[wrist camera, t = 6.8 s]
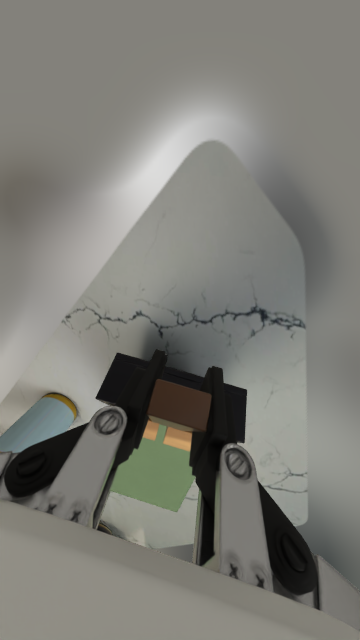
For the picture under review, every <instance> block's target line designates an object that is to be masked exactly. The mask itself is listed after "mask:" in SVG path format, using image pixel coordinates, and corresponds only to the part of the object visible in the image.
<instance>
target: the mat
mask: <svg viewBox="0 0 360 640" xmlns="http://www.w3.org/2000/svg"><path fill="white" fill-rule="evenodd" d="M166 428H167V426H164V425H161V424H159V428H158V432H157V435H156V439H155V441H153V440H150V439H147V438H144V437H142V440H141V443H140V445H139V448H138V449H135V448H134V450H133V453H132V455H130V456H129V459H128V460H127V461H125V462H124V463H122V464H120V466H119V468H118V471H117V474H116V477H115V480H114V482H113V485H112V488H111V491H113V492H116V493H119V494H122V495H125V496H128V497H131V498H134V499H137V500H140V501H143V502H146V503H150V504H153V505H156V506H159V507H162V508H165V509H168V510H171V511H174V512H177V511H178V509H179V507H180V505H181V504H182V502H183V500H184V498H185V496H186V494H187V492H188V490H189V488H190V486H191V484H192V483H193V481H194V479H195V477H196V476H193V475H192V467H190V466H189V458H190V451H186V450H183V449H179V448H176V447H173V446H170V445H166V444H163V441H164V436H165V432H166Z"/></svg>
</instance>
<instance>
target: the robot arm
mask: <svg viewBox="0 0 360 640" xmlns="http://www.w3.org/2000/svg"><path fill="white" fill-rule="evenodd" d="M167 356H168V355H166V354H165V352H164V351H161V350H158V349H156V351H155V353H154V355H153V357H152V359H151V361H150V363H149V365H148V367H147V369H143V368H139V367H136V369H135V370H134V372H133V374H132V375H131V377H130V379H129V380H128V382H127V384H126V386H125V387H124V389H123V391H122V392H121V394H120V396H119V397H118V399H117V401H116V403H115V404H114V406H106V407H104V408H101V409H100V410H98V411H97V412H96V413H95V414H94V416H93V417H92V418H91V420H90V422H89V423H86V424H84V425H81V426H79V427H76V428H74V429H71V430H69V431H66V432H64V433H61V434H59V435H56V436H54V437H51V438H49V439H46V440H44V441H41V442H39V443H36V444H34V445H32V446H30V447H28V448H26V449H24V450H23V451H21V452H18V453H12V451H7V452H0V640H360V591H359V590H358V589H357V588H356V587H355V586H354V585H353V584H351V583H350V582H349V581H348V580H347V579H346V578H344V577H343V576H342V575H341V574H340V573H339V572H338V571H336V570H335V569H334V568H333V567H332V566H331V565H330V564H329V563H327V562H326V561H325V560H324V559H323V558H322V557H321V556H320V555H318V554H317V555H314V554H313V553H312V552H311V551H310V549H309V547H308V545H307V543H306V542H305V541H304V539H303V538H302V536H301V535H300V533H299V532H298V531H297V530H296V528H295V527H294V526H293V524H292V523H291V522H290V520H289V519H288V518H287V517H286V515H285V514H284V513H283V512H282V510H281V509H280V508H279V507H278V505H277V504H276V503H275V501H274V500H273V499H272V498H271V496H270V495H269V494H268V493H267V491H266V490H265V489H264V487H263V486H262V485H261V484H260V482H259V481H258V480H257V474H256V468H255V464H254V461H253V459H252V458H251V456H250V455H249V453H248V452H247V451H246V450H245V449H244V448H243V447H241V446H239V445H237V438H236V430H235V422H234V413H233V405H232V398H231V395H228V394H225V393H224V381H223V370H222V368H218V367H215V366H212V368H210V367H209V368H208V370H207V373H206V375H205V378H204V380H203V383H202V385H201V388H200V390H199V391H202V392H205V393H209V394H211V396H212V397H211V403H210V410H209V417H208V424H207V430H206V432H195V431H192V439H191V449H190V458H189V466H190V467H192V475H193V476H196V484H197V485H198V487H199V495H198V506H197V516H196V527H195V538H194V549H193V559H192V563H189V562H186V561H183V560H181V559H178V558H175V557H172V556H169V555H166V554H163V553H161V552H158V551H155V550H152V549H149V548H147V547H144V546H141V545H138V544H135V543H132V542H129V541H127V540H124V539H121V538H118V537H115V536H112V535H109V534H106V533H104V532H101V531H98V530H97V527H98V525H99V522H100V519H101V516H102V513H103V511H104V508H105V505H106V502H107V499H108V496H109V494H110V491H111V488H112V485H113V482H114V480H115V477H116V474H117V471H118V468H119V466H120V464H122V463H124V462H125V461H127V460H128V459H129V456H130V455H132V453H133V450H134V448H135V449H138V448H139V445H140V443H141V440H142V437H143V434H144V431H145V428H146V425H147V423H148V420H149V417H148V415H147V414H146V412H147V409H148V406H149V402H150V399H151V396H152V392H153V389H154V386H155V383H156V380H157V379H161V380H162V376H163V372H164V368H165V364H166V360H167Z"/></svg>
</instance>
